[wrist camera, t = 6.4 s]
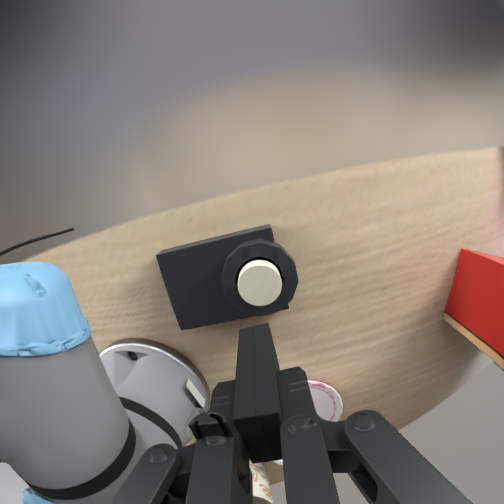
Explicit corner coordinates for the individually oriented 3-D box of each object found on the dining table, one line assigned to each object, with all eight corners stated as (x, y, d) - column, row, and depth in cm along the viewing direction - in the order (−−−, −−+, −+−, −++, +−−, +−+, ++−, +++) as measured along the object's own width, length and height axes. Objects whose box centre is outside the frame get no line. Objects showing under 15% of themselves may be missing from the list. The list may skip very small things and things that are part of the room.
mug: (277, 462, 36) (281, 513, 26) (203, 473, 37) (196, 520, 27) (260, 432, 34) (261, 490, 24) (179, 445, 35) (166, 496, 25)
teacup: (277, 365, 31) (282, 400, 25) (359, 392, 32) (374, 423, 26) (235, 427, 34) (232, 461, 28) (311, 447, 35) (316, 478, 29)
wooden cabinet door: (486, 350, 31) (541, 399, 17) (428, 353, 31) (488, 422, 17) (500, 314, 30) (562, 357, 16) (444, 312, 30) (517, 371, 16)
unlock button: (234, 264, 25) (232, 270, 23) (275, 254, 25) (276, 259, 23) (244, 302, 26) (243, 310, 24) (284, 293, 26) (286, 301, 24)
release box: (162, 250, 29) (149, 259, 25) (282, 221, 28) (287, 226, 24) (185, 321, 30) (176, 339, 26) (298, 297, 30) (304, 313, 26)
